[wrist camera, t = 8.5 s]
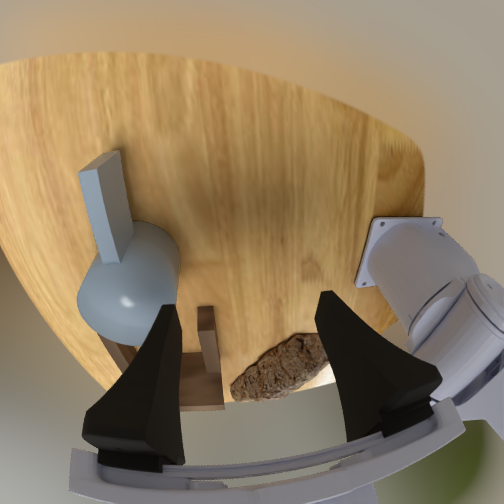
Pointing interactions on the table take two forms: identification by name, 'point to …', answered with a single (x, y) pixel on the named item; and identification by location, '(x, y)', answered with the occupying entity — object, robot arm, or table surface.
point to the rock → (282, 370)
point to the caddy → (189, 367)
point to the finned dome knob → (123, 259)
